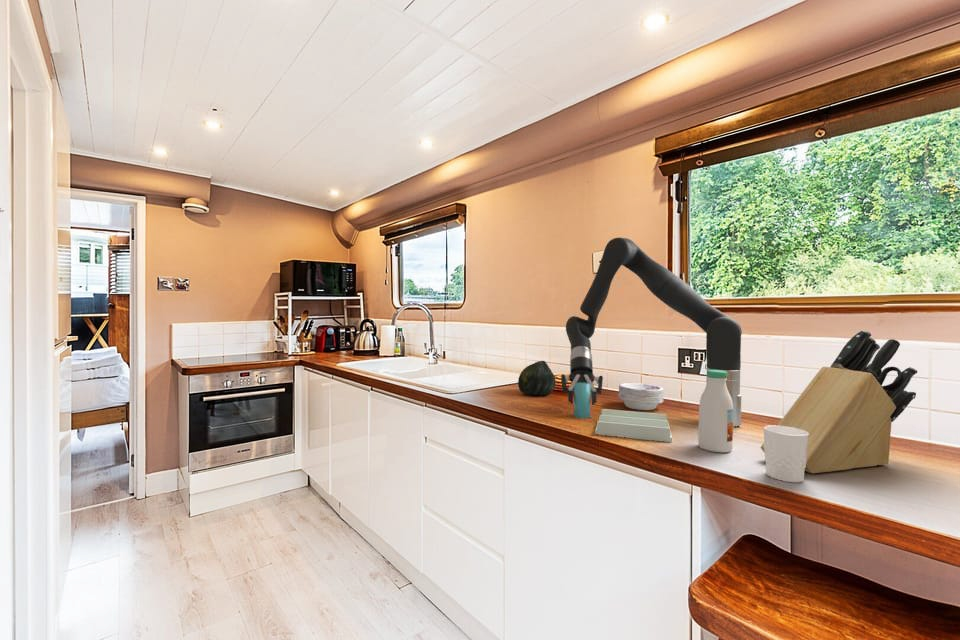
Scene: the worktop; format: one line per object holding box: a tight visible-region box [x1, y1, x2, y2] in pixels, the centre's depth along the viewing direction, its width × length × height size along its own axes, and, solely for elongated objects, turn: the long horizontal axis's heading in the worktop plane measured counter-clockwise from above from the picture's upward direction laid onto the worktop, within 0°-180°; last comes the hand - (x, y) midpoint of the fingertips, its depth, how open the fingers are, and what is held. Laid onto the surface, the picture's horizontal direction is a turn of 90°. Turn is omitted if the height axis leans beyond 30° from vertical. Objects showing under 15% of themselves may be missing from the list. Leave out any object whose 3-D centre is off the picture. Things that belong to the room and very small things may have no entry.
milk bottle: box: [697, 369, 734, 454], centre depth 113 cm, size 8×8×20 cm
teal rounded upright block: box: [573, 382, 592, 419], centre depth 145 cm, size 5×5×11 cm
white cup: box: [763, 424, 809, 483], centre depth 94 cm, size 8×8×10 cm
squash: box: [517, 360, 556, 397], centre depth 181 cm, size 14×15×15 cm
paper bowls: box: [618, 382, 664, 411], centre depth 160 cm, size 15×15×8 cm
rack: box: [594, 408, 673, 443], centre depth 129 cm, size 20×17×4 cm
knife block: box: [760, 329, 918, 474], centre depth 104 cm, size 11×35×31 cm, turn 106°
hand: (582, 402), depth 144 cm, fingers open, 6 cm apart
